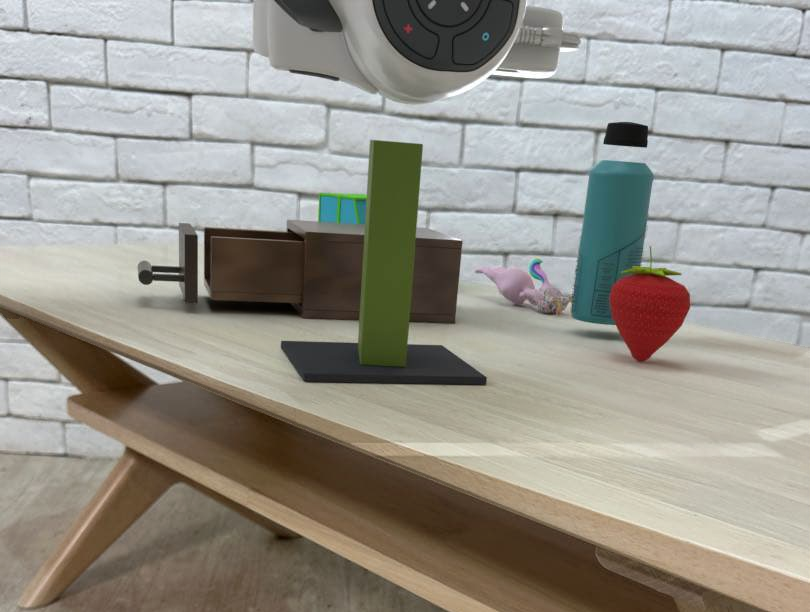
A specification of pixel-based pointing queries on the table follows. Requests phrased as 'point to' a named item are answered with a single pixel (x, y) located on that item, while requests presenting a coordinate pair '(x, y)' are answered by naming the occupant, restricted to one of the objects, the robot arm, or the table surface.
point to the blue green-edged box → (342, 208)
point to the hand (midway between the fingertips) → (399, 42)
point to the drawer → (236, 265)
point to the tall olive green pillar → (389, 252)
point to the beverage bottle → (611, 225)
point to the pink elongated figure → (527, 287)
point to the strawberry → (648, 308)
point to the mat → (345, 366)
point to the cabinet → (342, 272)
